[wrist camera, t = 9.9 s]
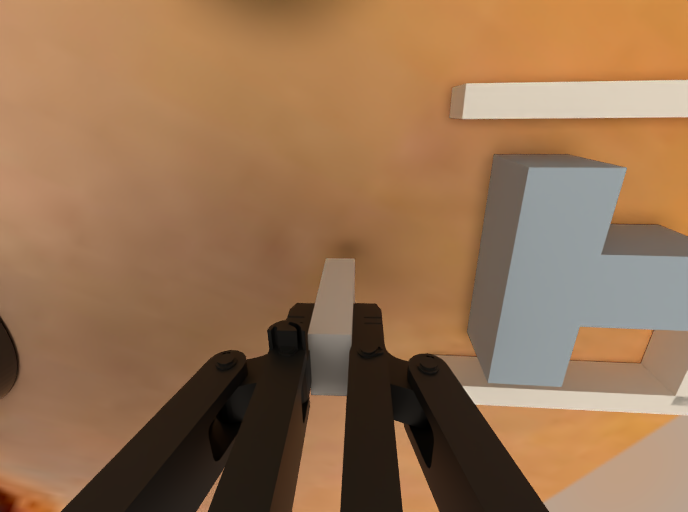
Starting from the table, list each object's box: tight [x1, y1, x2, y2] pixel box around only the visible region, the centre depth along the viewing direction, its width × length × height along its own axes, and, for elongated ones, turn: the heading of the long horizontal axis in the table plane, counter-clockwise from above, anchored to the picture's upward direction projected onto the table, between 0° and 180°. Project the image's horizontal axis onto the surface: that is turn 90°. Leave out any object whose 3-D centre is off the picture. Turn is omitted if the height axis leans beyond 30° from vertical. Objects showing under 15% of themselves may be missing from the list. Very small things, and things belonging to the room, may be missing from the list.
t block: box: [467, 154, 688, 387], centre depth 19 cm, size 10×12×5 cm
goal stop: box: [435, 80, 688, 415], centre depth 20 cm, size 16×19×3 cm
